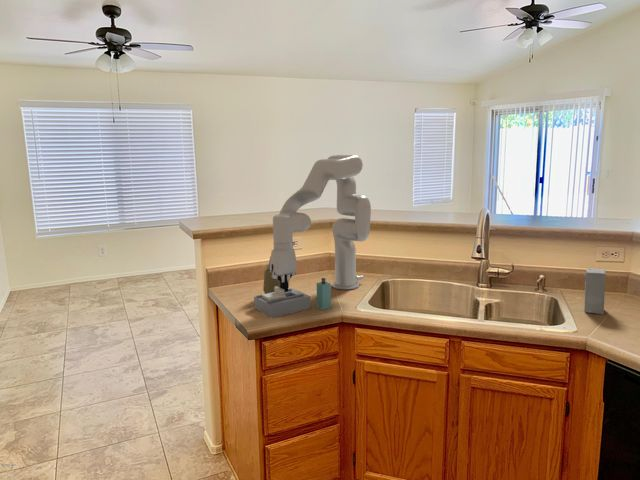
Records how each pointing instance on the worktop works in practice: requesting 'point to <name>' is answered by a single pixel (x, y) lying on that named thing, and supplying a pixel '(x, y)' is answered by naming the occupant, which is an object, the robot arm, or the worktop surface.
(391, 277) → the worktop surface
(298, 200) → the robot arm
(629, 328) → the worktop surface
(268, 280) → the squeeze bottle
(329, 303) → the teal rectangular bottle
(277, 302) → the grey flat box
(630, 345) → the worktop surface
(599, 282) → the skincare box
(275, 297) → the shutter
